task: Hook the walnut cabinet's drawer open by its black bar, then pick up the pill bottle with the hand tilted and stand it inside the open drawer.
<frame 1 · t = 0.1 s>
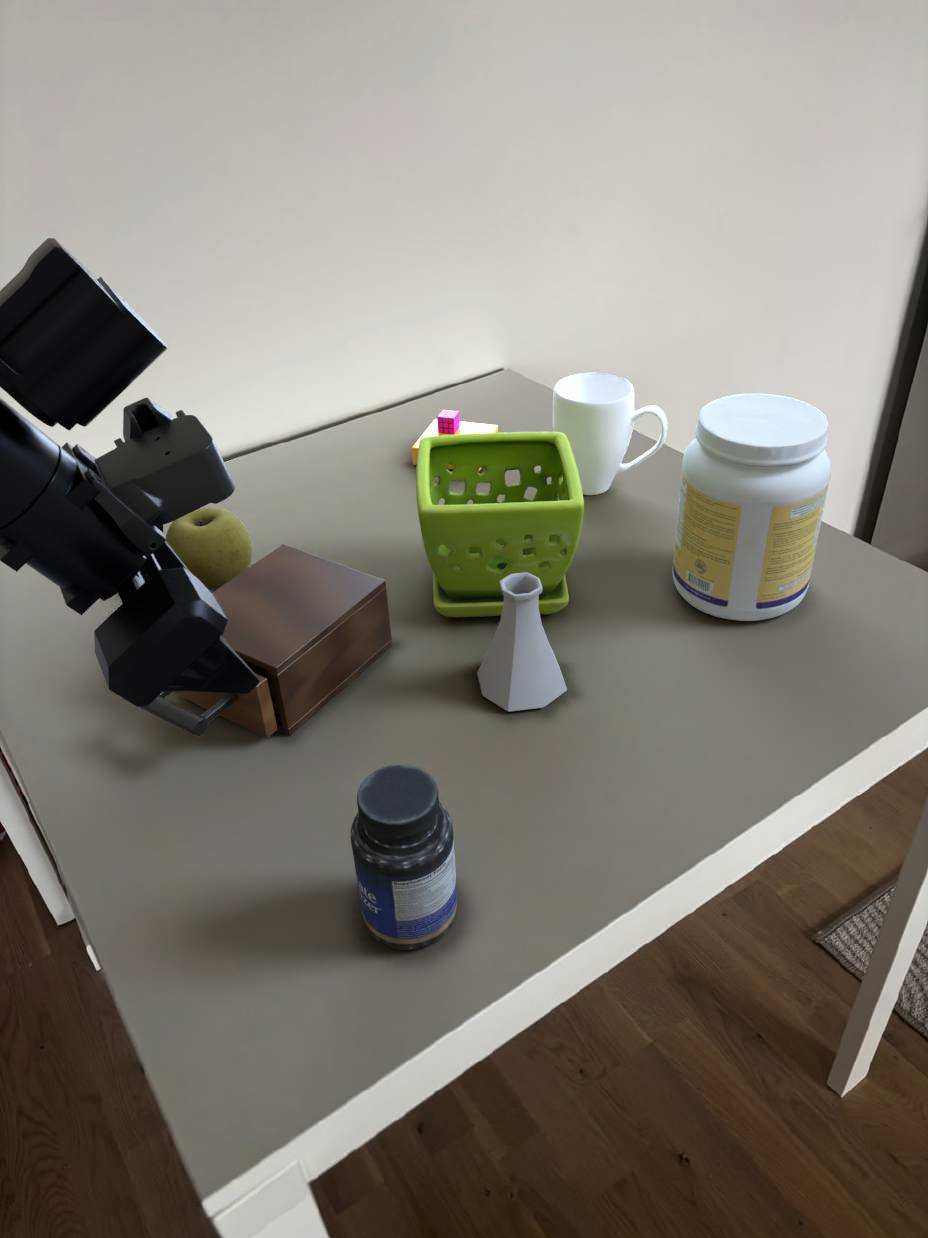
hand: (229, 644, 59), 16 cm above the table, tool tilted 30°, fingers open, 9 cm apart
supplement tub: (736, 589, 90), on the table
pill bottle: (411, 914, 62), on the table
cabinet: (292, 666, 83), on the table
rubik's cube: (456, 454, 114), on the table
mug: (606, 489, 106), on the table
apple: (217, 584, 94), on the table
flask: (521, 686, 80), on the table
drawer: (248, 663, 78), point 3 cm above the table, slide at 0.5 cm
flower pot: (499, 588, 91), on the table
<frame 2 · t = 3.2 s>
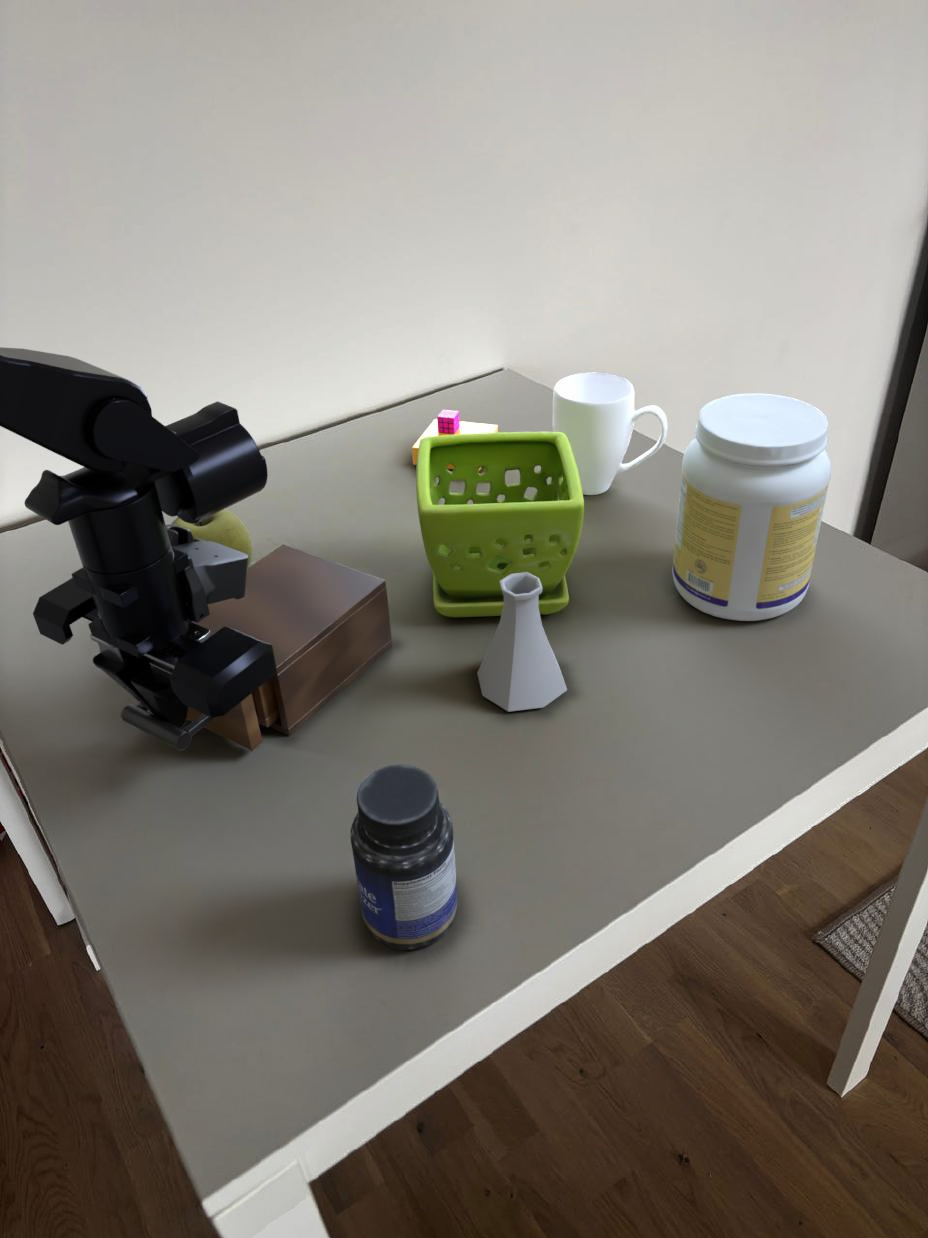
hand: (177, 726, 73), 3 cm above the table, tool pointing down, fingers closed
drawer: (233, 675, 77), point 3 cm above the table, slide at 2.2 cm
everything else where it was.
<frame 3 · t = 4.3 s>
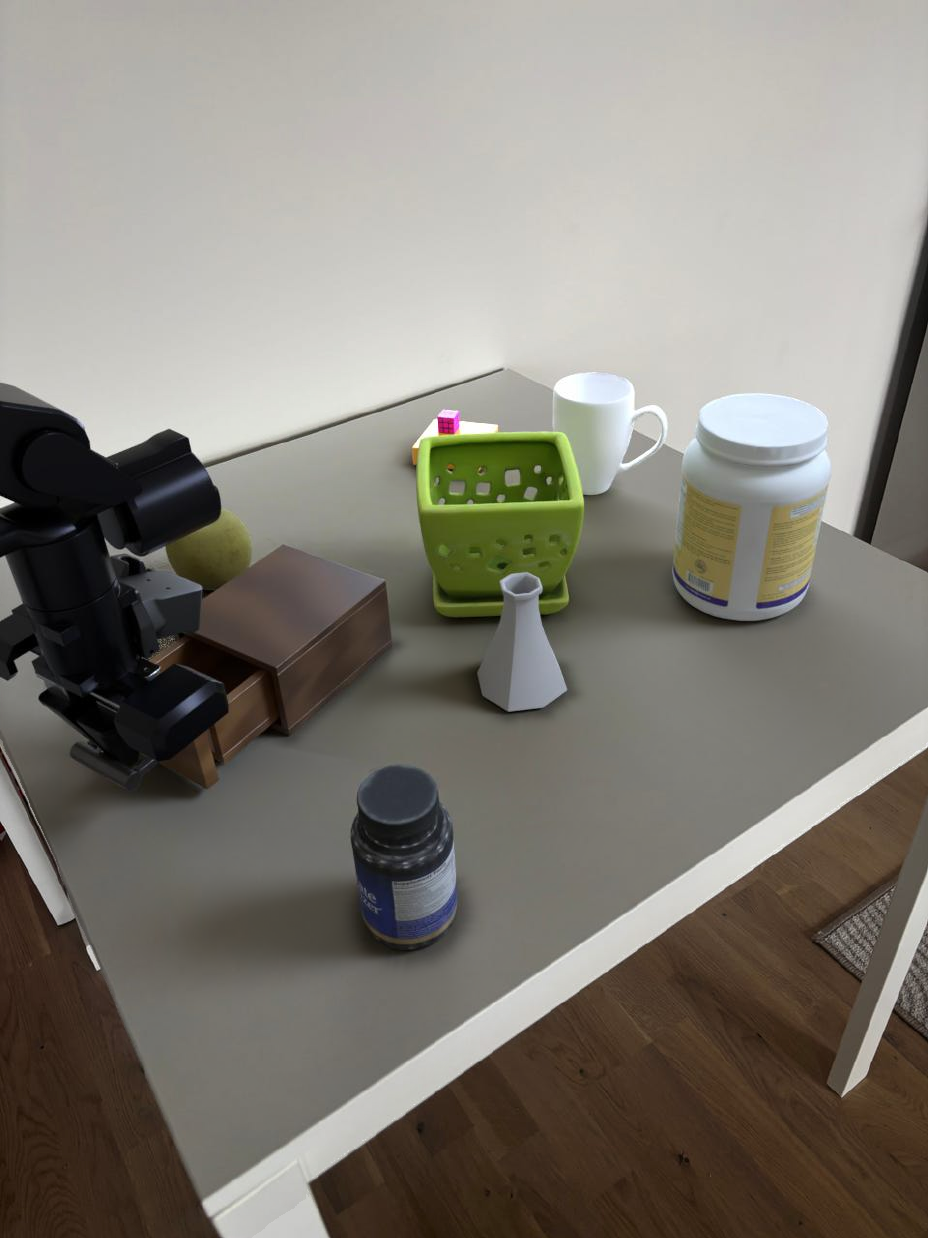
hand: (129, 764, 70), 3 cm above the table, tool pointing down, fingers closed, pressing on drawer
drawer: (190, 708, 74), point 3 cm above the table, slide at 6.8 cm, touching gripper
everything else where it was.
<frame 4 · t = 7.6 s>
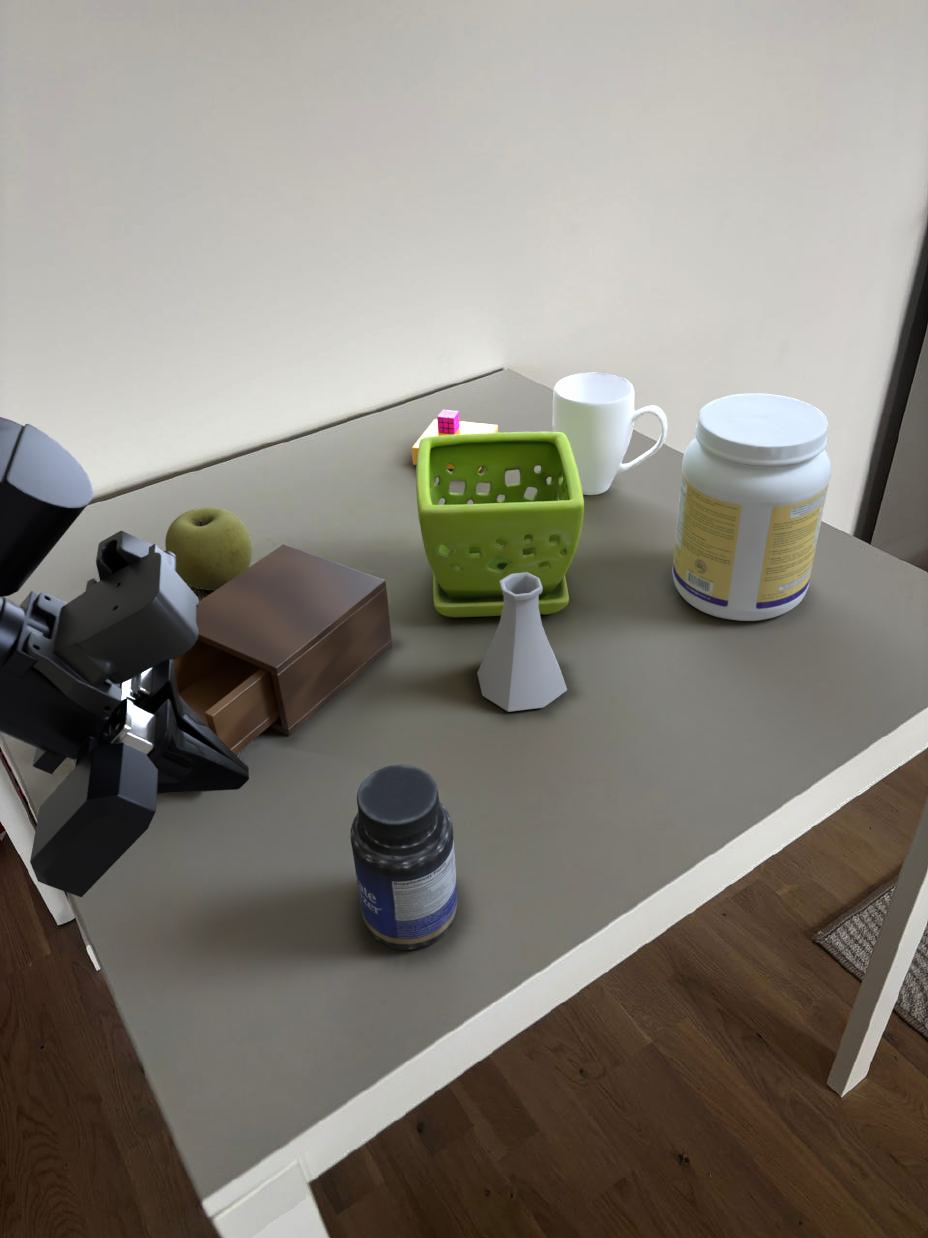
hand: (244, 779, 54), 13 cm above the table, tool tilted 45°, fingers closed
drawer: (190, 708, 74), point 3 cm above the table, slide at 6.8 cm
everything else where it was.
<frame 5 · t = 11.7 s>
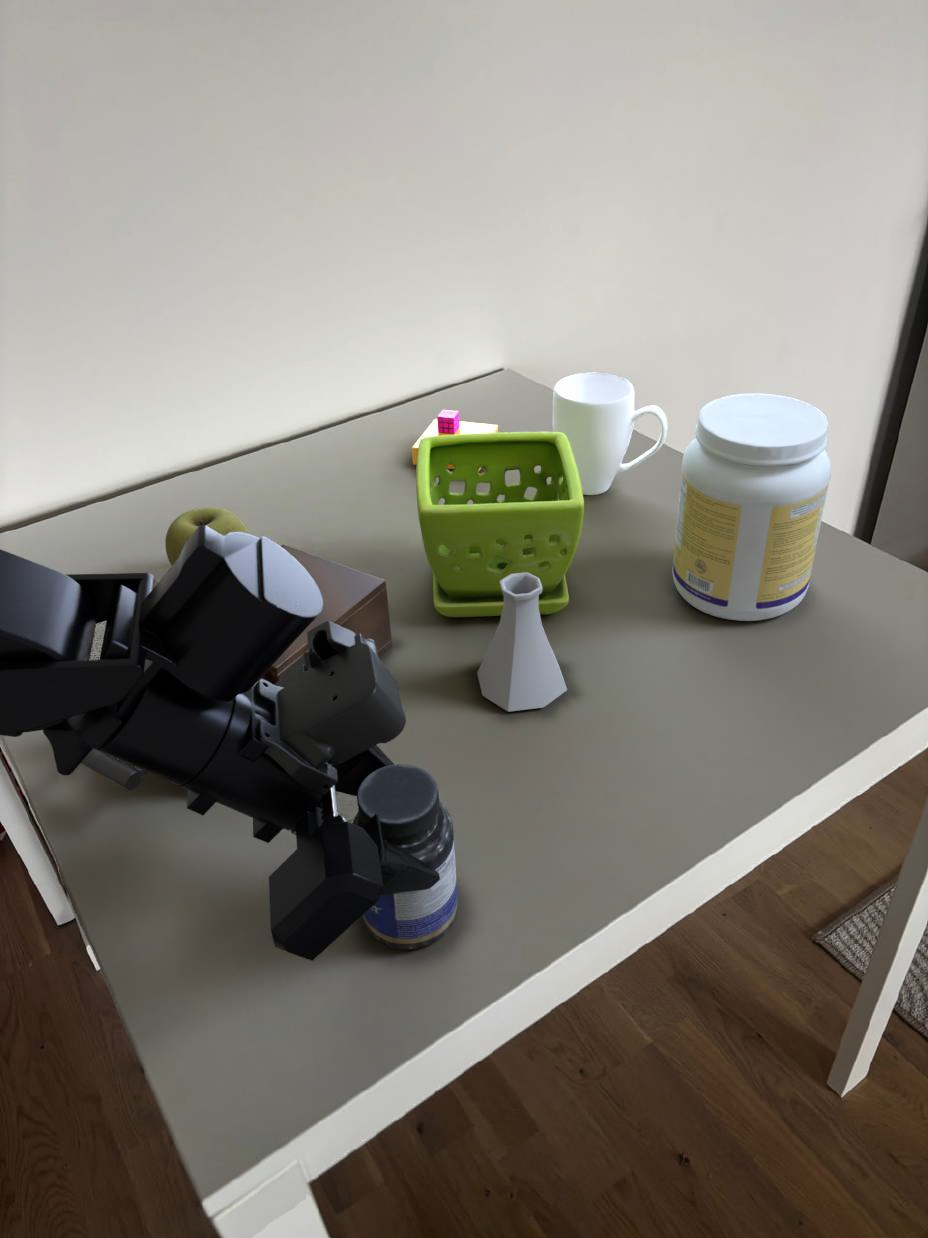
hand: (426, 840, 58), 7 cm above the table, tool tilted 45°, fingers closed on pill bottle, 6 cm apart
pill bottle: (411, 914, 62), on the table, touching gripper
everything else where it was.
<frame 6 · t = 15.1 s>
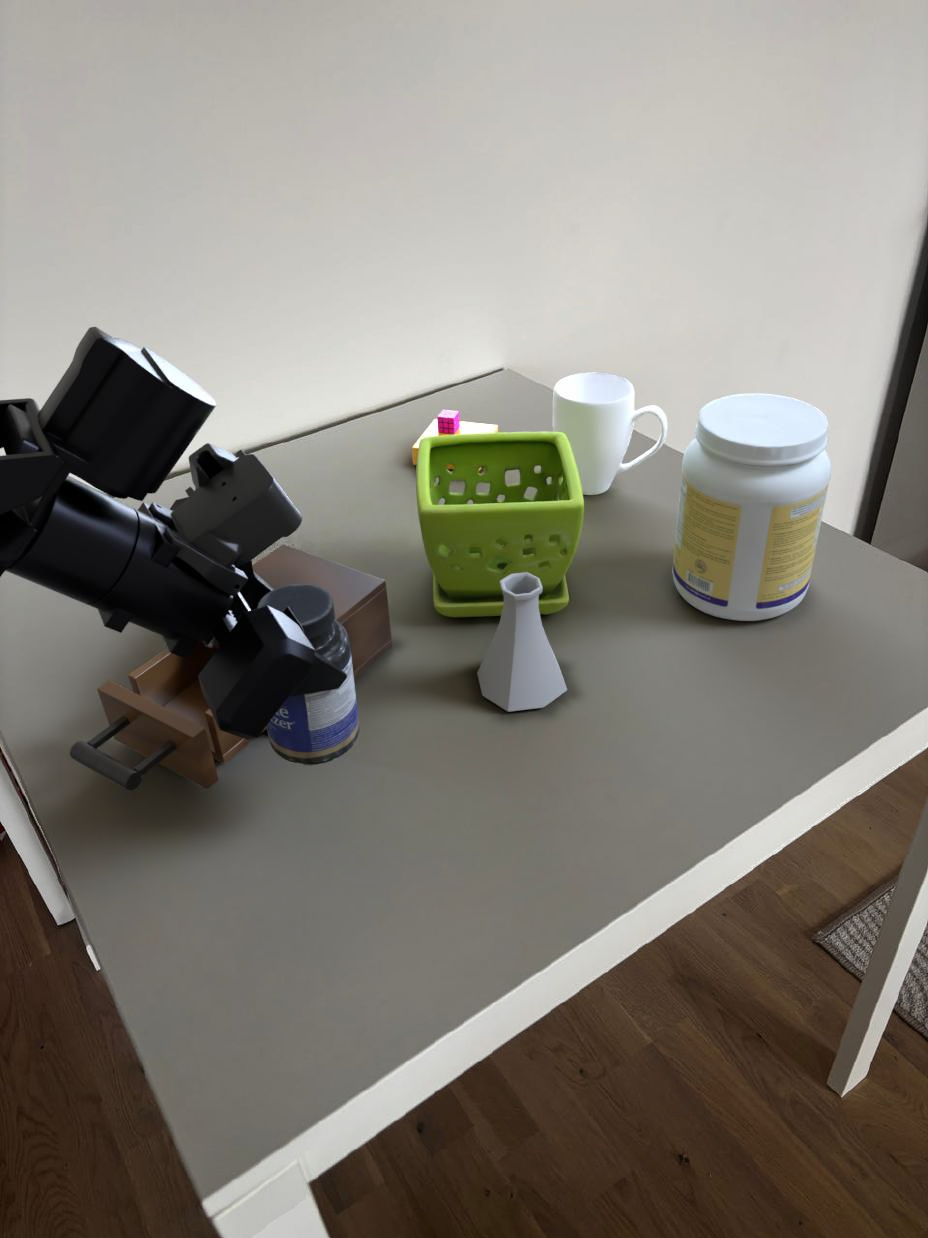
hand: (323, 654, 62), 13 cm above the table, tool tilted 45°, fingers closed on pill bottle, 6 cm apart
pill bottle: (316, 738, 66), point 7 cm above the table, touching gripper
everything else where it was.
when the fingers open (9 cm above the table, at t = 18.5 s): pill bottle stays where it is, resting on drawer.
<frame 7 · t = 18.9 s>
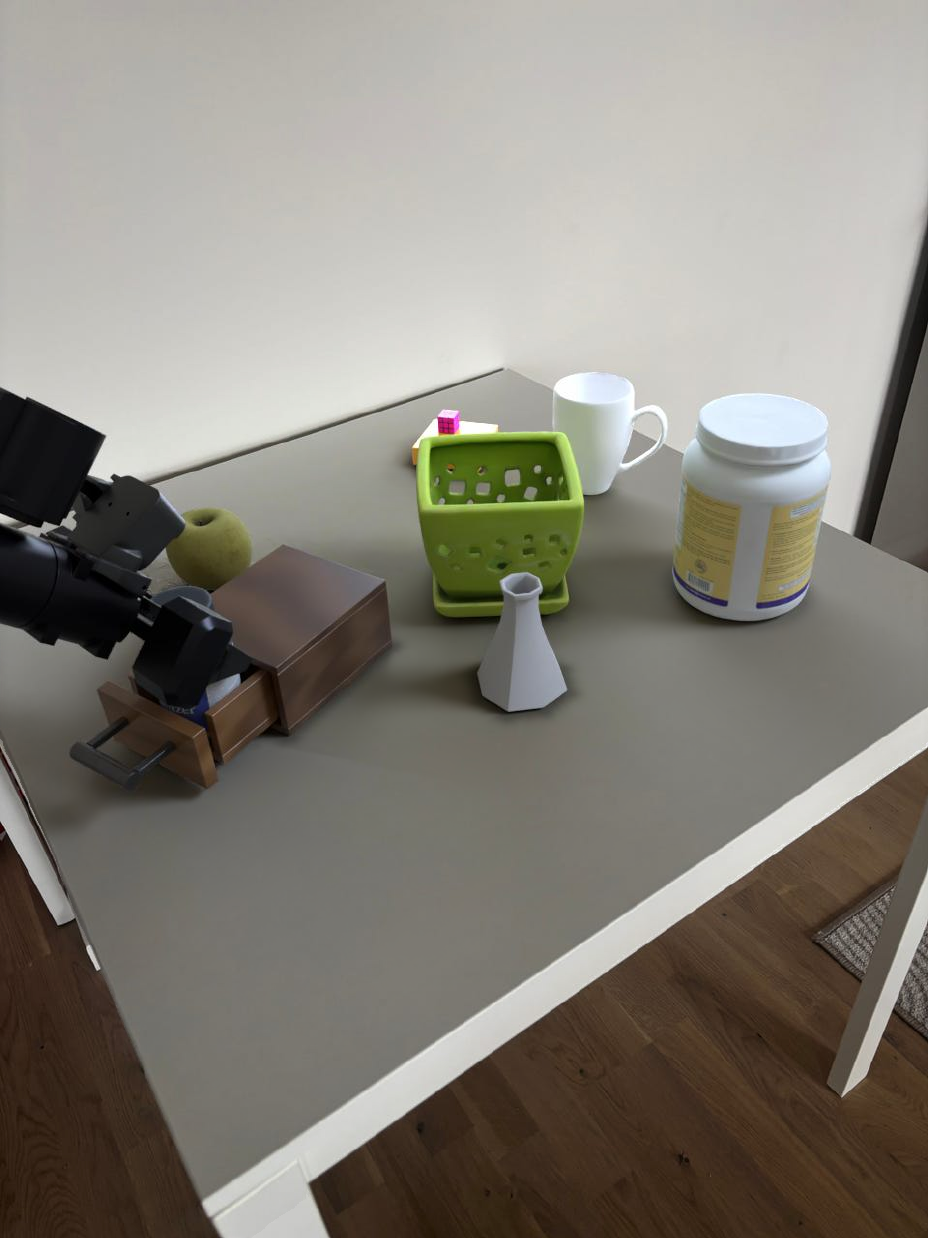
hand: (209, 639, 72), 9 cm above the table, tool tilted 45°, fingers open, 9 cm apart
pill bottle: (208, 721, 75), point 2 cm above the table, touching drawer
drawer: (189, 709, 74), point 3 cm above the table, slide at 6.8 cm, touching pill bottle
everything else where it was.
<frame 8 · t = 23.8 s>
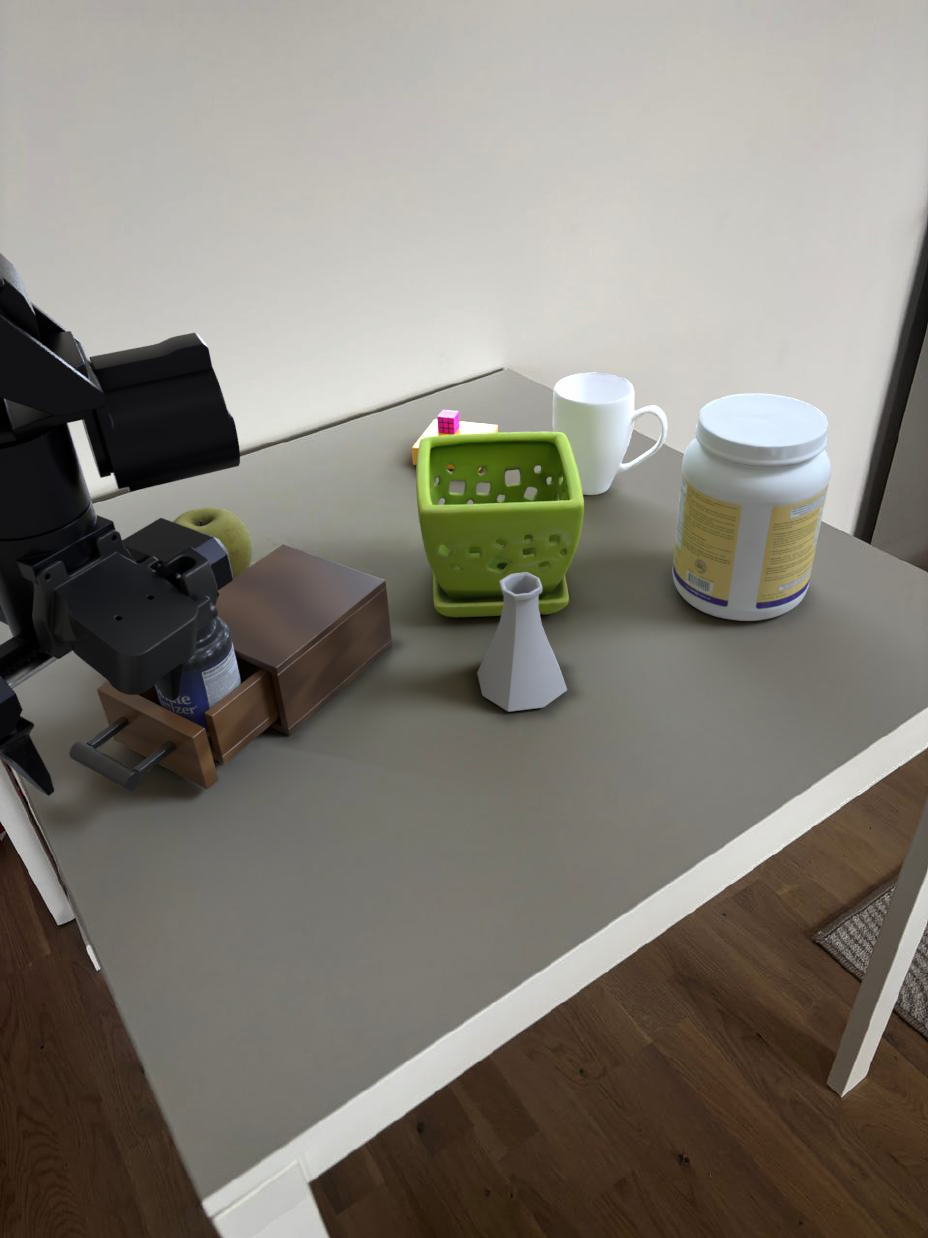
hand: (112, 742, 57), 13 cm above the table, tool pointing down, fingers open, 9 cm apart
nothing on the table moved.
at the end: drawer slide at 6.8 cm; pill bottle inside the target area in the drawer (2.6 cm from its centre), point 1.7 cm above the cabinet's base; the gripper is holding nothing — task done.
